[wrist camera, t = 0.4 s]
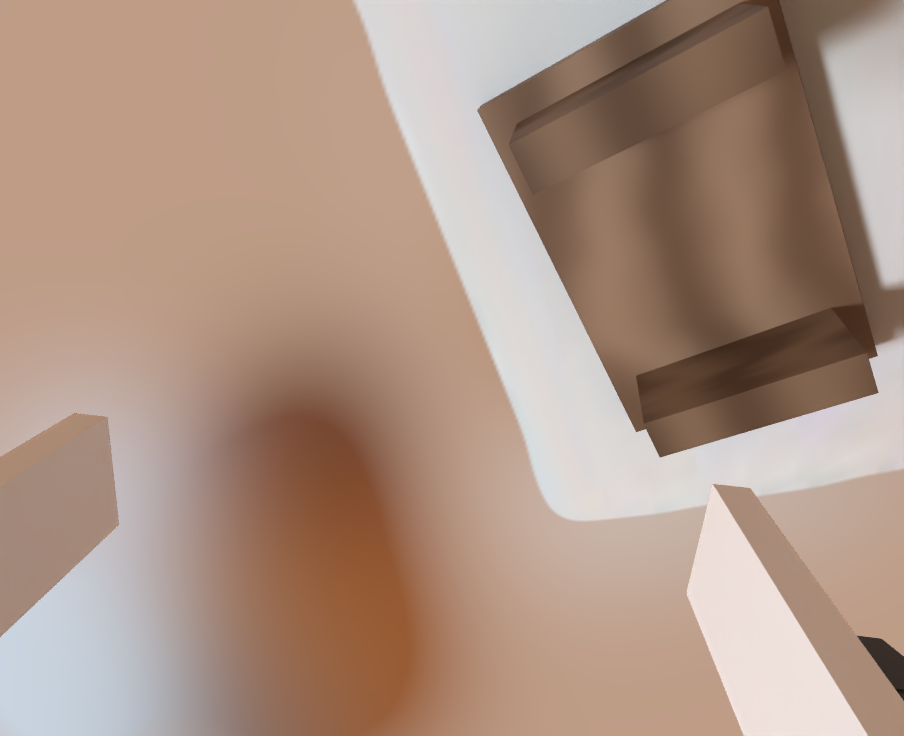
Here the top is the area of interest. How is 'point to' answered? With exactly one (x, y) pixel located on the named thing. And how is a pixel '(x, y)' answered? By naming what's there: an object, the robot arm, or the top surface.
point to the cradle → (692, 220)
